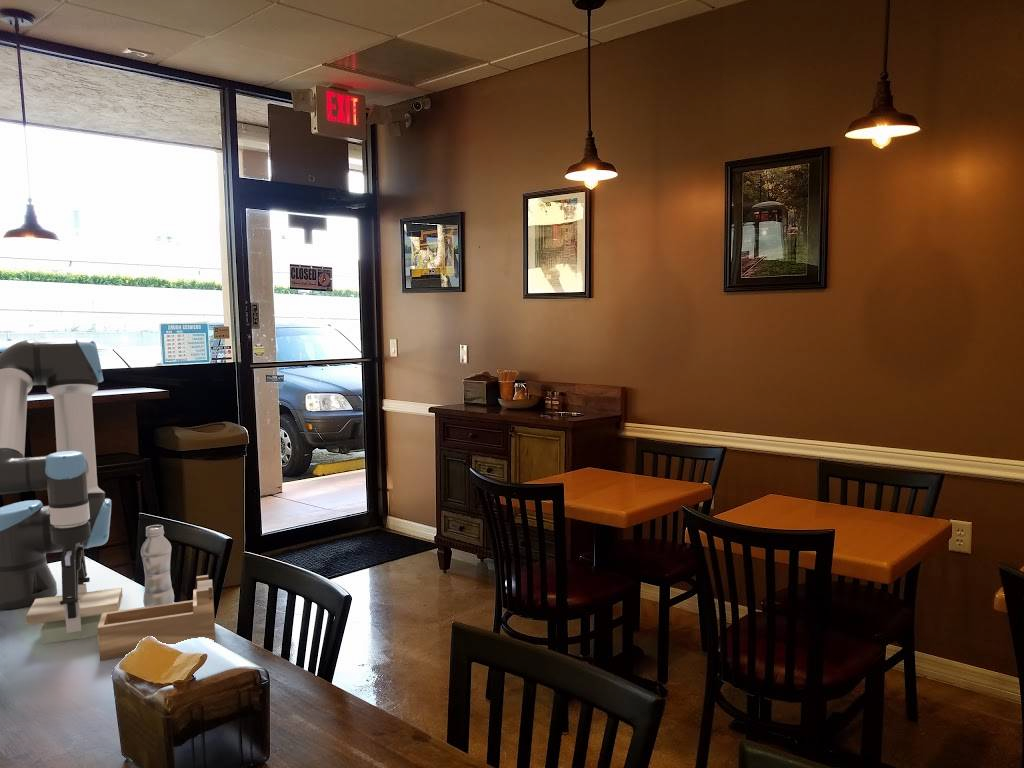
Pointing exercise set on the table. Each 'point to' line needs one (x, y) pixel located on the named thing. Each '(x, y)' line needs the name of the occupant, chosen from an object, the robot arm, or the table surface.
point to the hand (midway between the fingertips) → (77, 621)
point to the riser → (58, 632)
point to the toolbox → (156, 624)
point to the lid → (89, 606)
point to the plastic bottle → (157, 567)
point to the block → (206, 586)
